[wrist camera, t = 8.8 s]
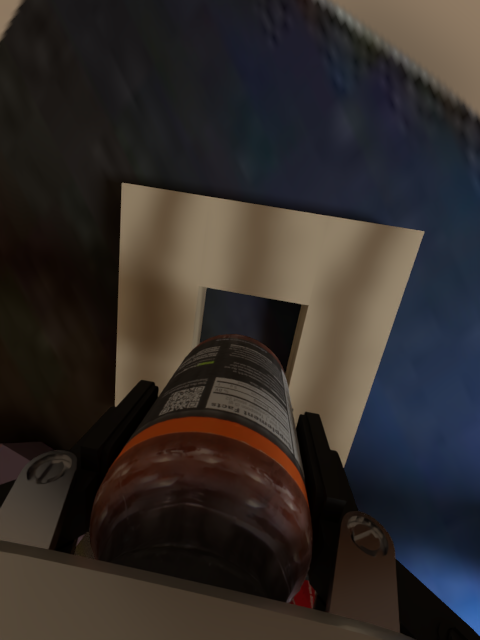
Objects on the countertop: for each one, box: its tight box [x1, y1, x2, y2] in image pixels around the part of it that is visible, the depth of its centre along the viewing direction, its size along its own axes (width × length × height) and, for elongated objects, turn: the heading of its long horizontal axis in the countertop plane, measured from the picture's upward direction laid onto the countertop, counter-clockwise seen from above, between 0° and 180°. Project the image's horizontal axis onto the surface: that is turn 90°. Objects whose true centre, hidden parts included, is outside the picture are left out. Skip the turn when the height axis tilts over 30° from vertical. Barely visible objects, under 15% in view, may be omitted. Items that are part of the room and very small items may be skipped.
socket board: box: [115, 183, 424, 468], centre depth 22 cm, size 20×20×3 cm
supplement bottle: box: [89, 334, 313, 603], centre depth 10 cm, size 6×6×11 cm
